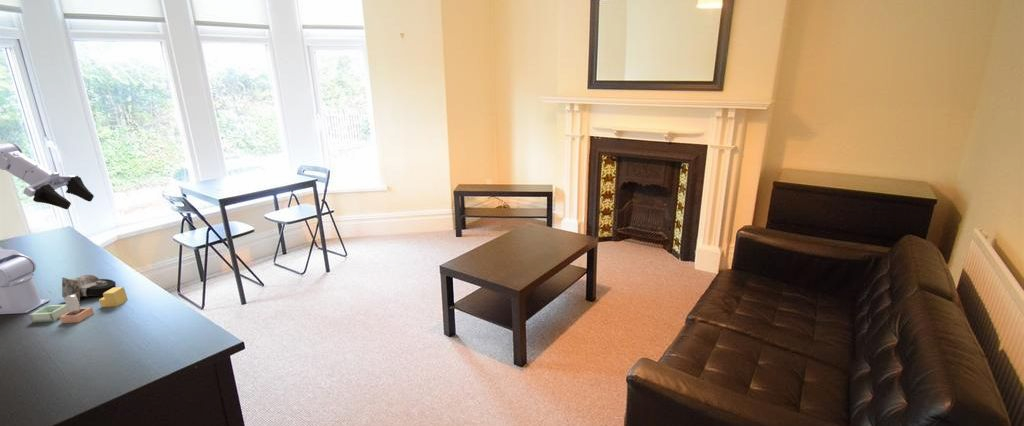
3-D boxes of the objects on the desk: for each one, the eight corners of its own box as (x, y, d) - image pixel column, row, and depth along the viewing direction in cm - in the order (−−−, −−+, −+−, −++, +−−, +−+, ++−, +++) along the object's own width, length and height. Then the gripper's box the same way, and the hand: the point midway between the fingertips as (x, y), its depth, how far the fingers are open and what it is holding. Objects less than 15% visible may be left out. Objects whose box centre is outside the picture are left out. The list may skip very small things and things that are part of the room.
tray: (32, 322, 136) (29, 314, 135) (49, 312, 141) (46, 305, 140) (54, 321, 136) (51, 313, 135) (71, 311, 141) (68, 304, 140)
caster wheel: (122, 295, 156) (90, 306, 146) (93, 287, 157) (60, 297, 148) (122, 276, 154) (90, 286, 145) (93, 268, 156) (60, 277, 146)
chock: (101, 307, 143) (96, 293, 142) (112, 300, 147) (107, 287, 146) (117, 306, 143) (113, 292, 142) (128, 300, 147) (123, 286, 145)
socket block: (61, 323, 135) (59, 316, 134) (77, 314, 139) (74, 308, 139) (79, 322, 134) (76, 316, 134) (93, 313, 139) (91, 307, 139)
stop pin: (69, 320, 136) (61, 298, 134) (77, 316, 138) (69, 294, 136) (78, 320, 136) (70, 298, 133) (86, 315, 138) (78, 294, 136)
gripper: (13, 168, 125) (63, 198, 127) (62, 157, 138) (106, 185, 141) (3, 189, 126) (53, 218, 129) (53, 176, 140) (97, 203, 143)
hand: (80, 202), depth 135 cm, fingers open, 7 cm apart
